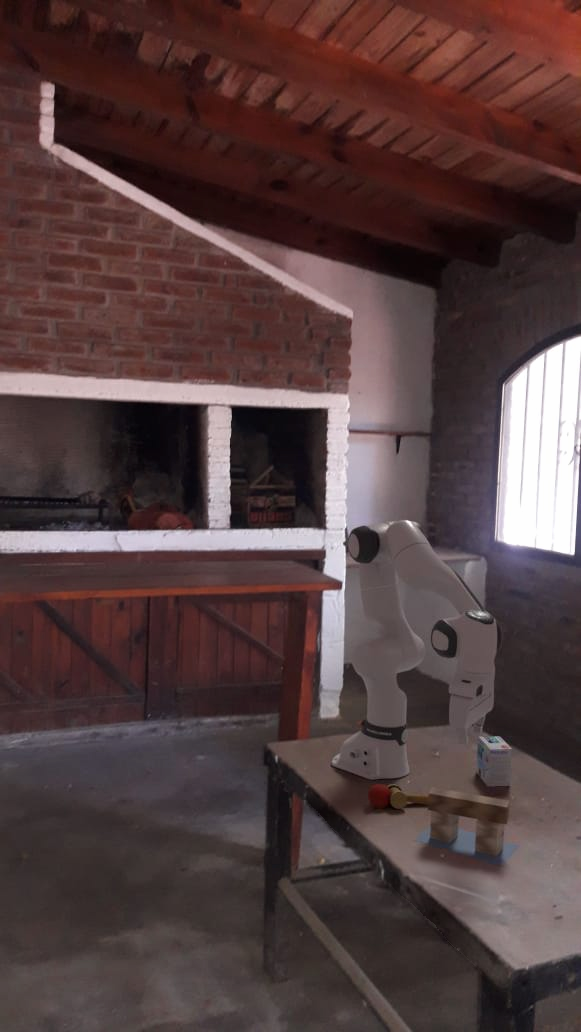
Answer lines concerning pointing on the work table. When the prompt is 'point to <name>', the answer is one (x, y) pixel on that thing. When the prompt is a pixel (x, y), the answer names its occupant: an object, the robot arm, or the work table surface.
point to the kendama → (393, 797)
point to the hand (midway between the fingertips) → (470, 737)
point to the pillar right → (489, 837)
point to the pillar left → (444, 826)
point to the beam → (468, 805)
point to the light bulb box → (494, 761)
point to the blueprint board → (468, 846)
